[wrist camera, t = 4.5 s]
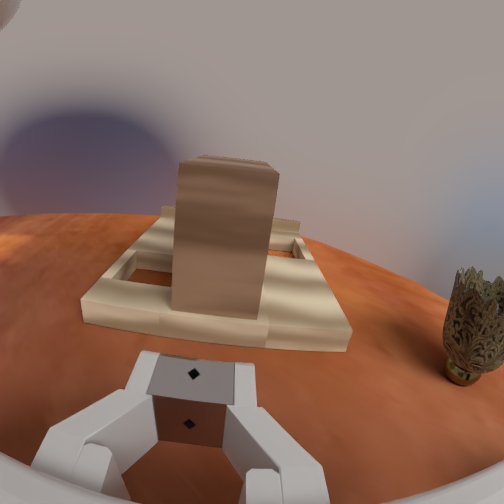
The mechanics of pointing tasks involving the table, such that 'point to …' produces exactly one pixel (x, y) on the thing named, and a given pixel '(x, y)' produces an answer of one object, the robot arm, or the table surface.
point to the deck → (216, 327)
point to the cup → (474, 327)
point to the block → (222, 235)
